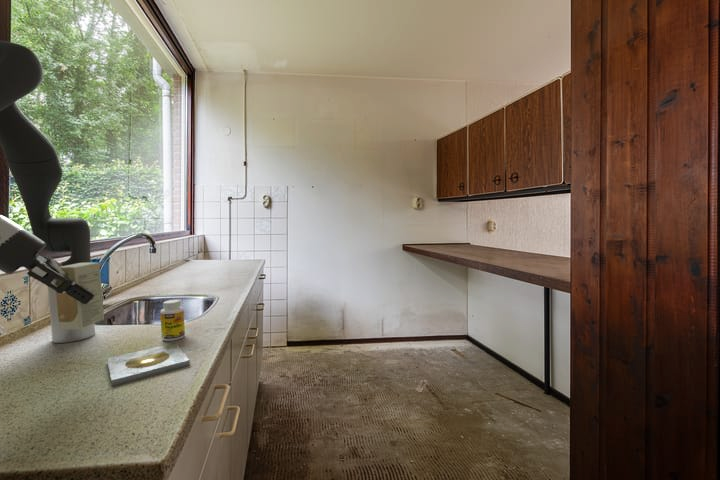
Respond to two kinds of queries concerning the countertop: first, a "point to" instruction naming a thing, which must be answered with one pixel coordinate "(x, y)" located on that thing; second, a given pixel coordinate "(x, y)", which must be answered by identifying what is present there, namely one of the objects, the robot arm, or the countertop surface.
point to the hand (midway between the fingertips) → (89, 296)
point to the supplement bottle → (172, 321)
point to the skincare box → (73, 310)
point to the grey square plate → (146, 363)
